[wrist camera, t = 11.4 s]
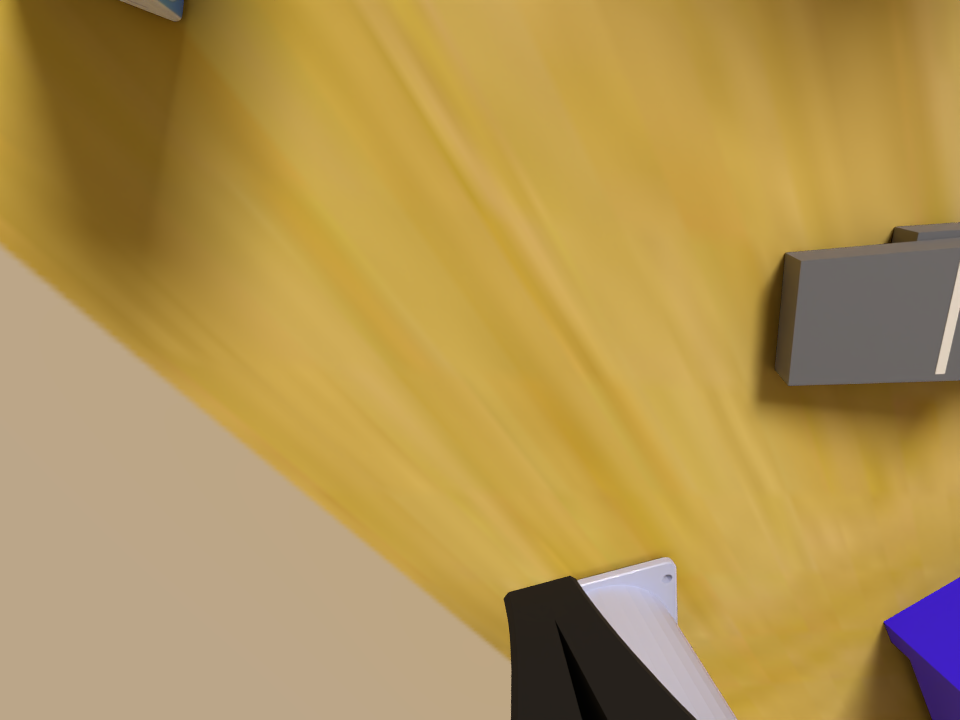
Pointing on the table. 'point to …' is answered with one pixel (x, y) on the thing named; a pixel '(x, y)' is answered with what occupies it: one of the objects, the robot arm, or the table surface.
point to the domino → (871, 314)
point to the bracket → (933, 648)
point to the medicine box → (160, 7)
